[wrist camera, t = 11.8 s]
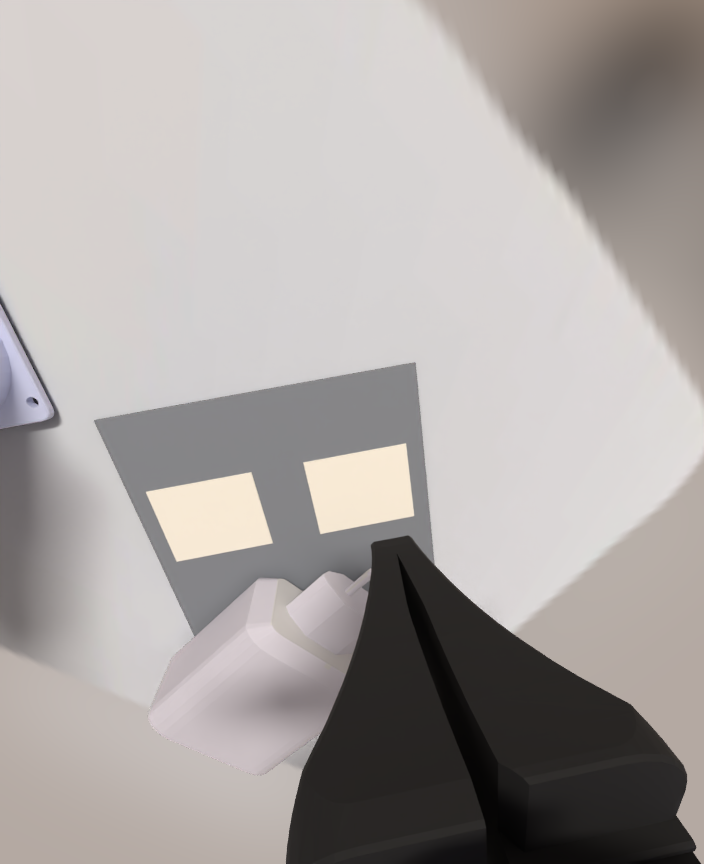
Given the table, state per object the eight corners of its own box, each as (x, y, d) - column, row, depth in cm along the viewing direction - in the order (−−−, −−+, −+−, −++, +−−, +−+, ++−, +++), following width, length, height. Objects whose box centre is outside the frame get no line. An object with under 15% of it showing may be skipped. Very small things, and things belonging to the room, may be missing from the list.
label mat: (95, 420, 17) (93, 420, 17) (415, 362, 18) (415, 362, 17) (205, 656, 23) (204, 658, 23) (438, 609, 24) (439, 611, 24)
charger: (422, 585, 23) (277, 701, 26) (326, 508, 20) (175, 647, 23) (446, 651, 18) (268, 782, 21) (327, 564, 16) (140, 728, 18)
